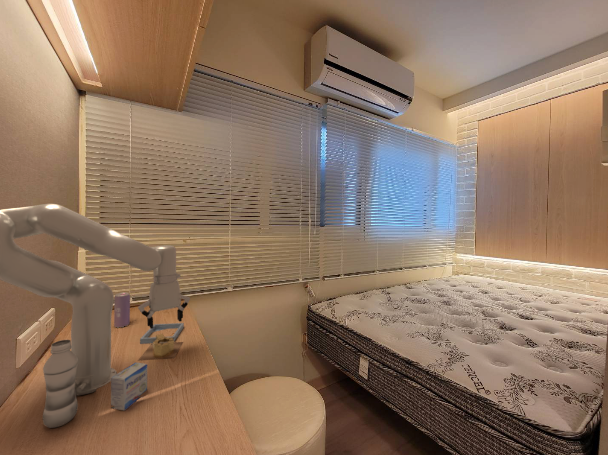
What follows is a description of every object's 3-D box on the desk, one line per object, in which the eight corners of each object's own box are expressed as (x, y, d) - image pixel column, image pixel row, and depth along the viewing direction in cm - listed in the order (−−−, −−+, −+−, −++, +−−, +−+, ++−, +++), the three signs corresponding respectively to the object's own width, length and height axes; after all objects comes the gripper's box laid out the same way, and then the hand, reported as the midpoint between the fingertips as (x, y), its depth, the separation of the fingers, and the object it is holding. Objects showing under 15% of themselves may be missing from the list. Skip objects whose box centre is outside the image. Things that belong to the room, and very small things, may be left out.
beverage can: (132, 323, 125) (133, 292, 124) (122, 328, 119) (123, 296, 118) (121, 322, 125) (121, 292, 125) (110, 327, 119) (111, 295, 119)
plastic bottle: (74, 408, 69) (75, 334, 69) (80, 421, 65) (81, 342, 64) (40, 422, 64) (40, 342, 64) (44, 437, 60) (44, 352, 59)
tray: (173, 344, 105) (174, 337, 105) (139, 346, 103) (140, 338, 103) (183, 329, 120) (183, 323, 120) (154, 330, 117) (154, 324, 117)
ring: (174, 353, 96) (175, 341, 96) (155, 359, 92) (155, 347, 92) (167, 343, 104) (168, 332, 104) (149, 348, 100) (149, 336, 100)
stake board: (174, 360, 93) (174, 347, 93) (137, 363, 91) (137, 349, 91) (183, 344, 106) (183, 332, 106) (151, 346, 104) (151, 333, 103)
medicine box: (124, 411, 69) (124, 379, 68) (110, 408, 70) (110, 377, 69) (147, 392, 76) (148, 363, 76) (134, 390, 77) (135, 361, 77)
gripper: (186, 273, 105) (187, 315, 105) (136, 280, 93) (137, 326, 94) (192, 277, 99) (193, 321, 100) (139, 284, 88) (140, 334, 88)
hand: (165, 323), depth 97 cm, fingers open, 9 cm apart
